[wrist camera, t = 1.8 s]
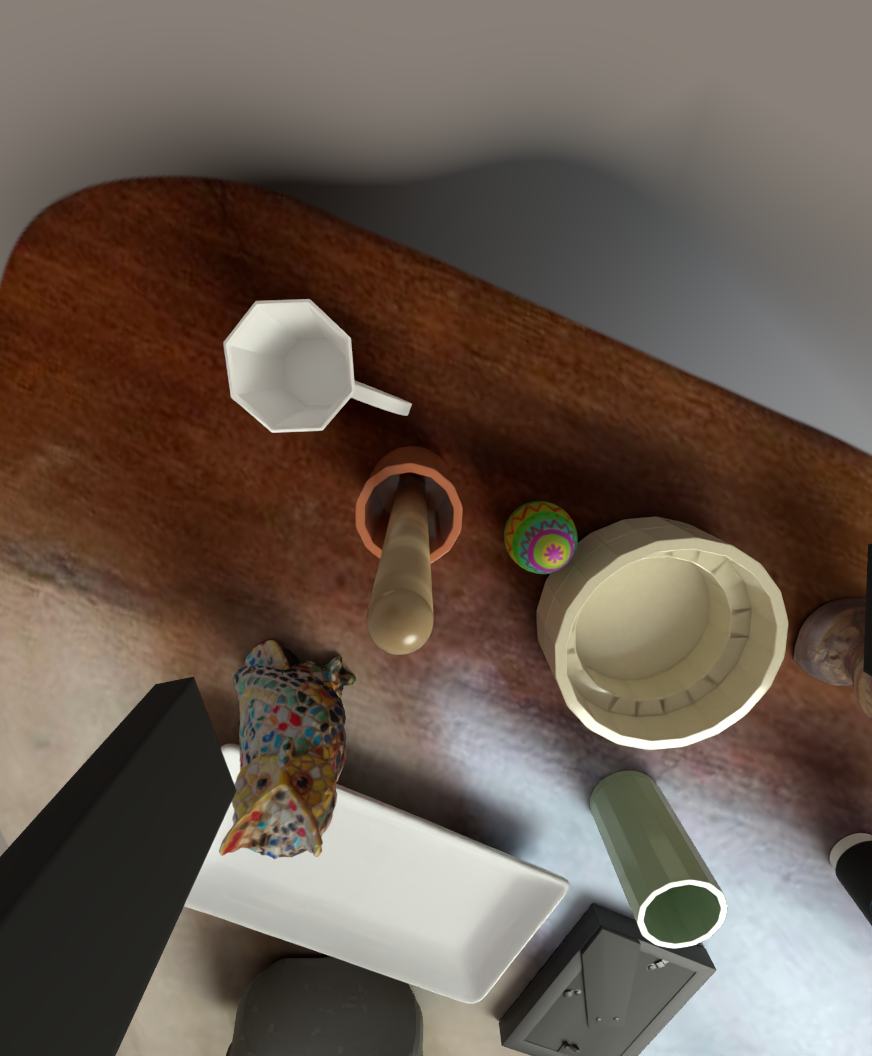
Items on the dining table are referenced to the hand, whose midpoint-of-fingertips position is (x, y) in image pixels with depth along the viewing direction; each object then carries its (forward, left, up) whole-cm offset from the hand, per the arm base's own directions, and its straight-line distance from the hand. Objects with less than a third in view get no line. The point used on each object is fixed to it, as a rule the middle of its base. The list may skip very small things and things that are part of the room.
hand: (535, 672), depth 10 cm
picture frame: (+6, +54, -27) cm, 61 cm away
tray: (+20, +29, -27) cm, 44 cm away
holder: (+3, 0, -27) cm, 27 cm away
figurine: (+17, +11, -27) cm, 34 cm away
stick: (+3, 0, -26) cm, 26 cm away
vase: (-3, +33, -27) cm, 43 cm away
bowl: (-9, +16, -27) cm, 32 cm away
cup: (+5, -8, -27) cm, 28 cm away
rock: (+30, +44, -27) cm, 60 cm away
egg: (-4, +6, -27) cm, 28 cm away
